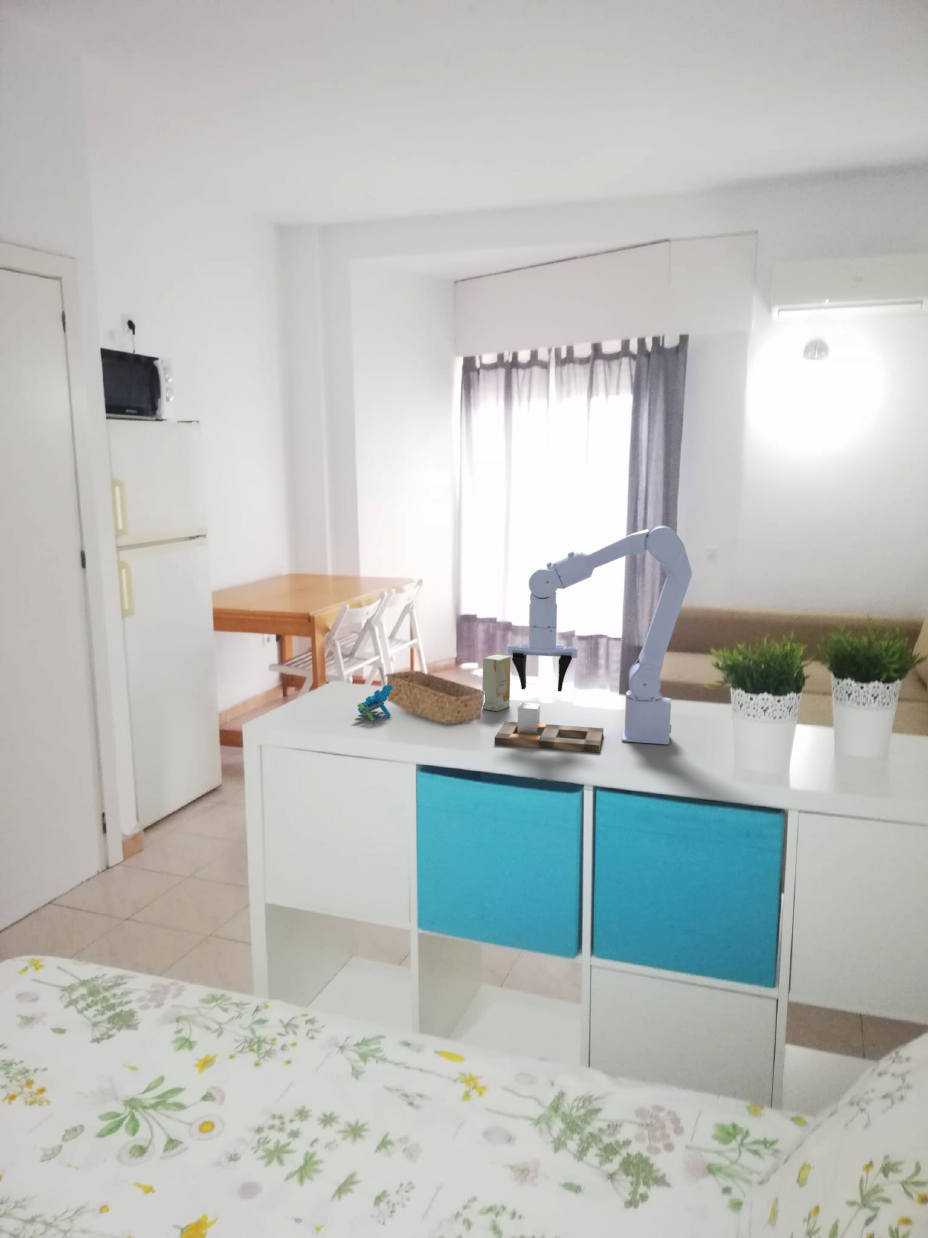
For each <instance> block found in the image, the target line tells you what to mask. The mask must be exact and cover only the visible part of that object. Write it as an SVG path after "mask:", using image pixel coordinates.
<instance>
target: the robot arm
mask: <svg viewBox="0 0 928 1238" xmlns="http://www.w3.org/2000/svg"><path fill="white" fill-rule="evenodd" d="M646 551H648V553H649V554H650V556H652V558H653V559H655V560H656V561H657V562H659V564H660V566H661V568H662V570H663V571H664V573H665V575H666V578H665V580H664V583H663V586H662V588H661V589H662V590H661V592H660V595H659V598H658V601H657V604H656V607H655V610H654V613H653V616H652V619H651V621H650V622H651V623H650V626H649V629H648V631H647V634H646V637H645V639H644V644H643V646H642V648H641V650H640V652H639V655H638V657H637V660H636V661H635V662H634V663H633V664H632V665H631V666H630V668H629V670H628V688H629V689H628V690H627V691H626V692H625V706H624V707H625V710H624V711H625V714H624V716H625V717H624V728H623V729H622V734H621V735H622V736H621V741H622V742H630V743H641V744H642V743H643V744H644V743H645V744H655V745H657V744H658V745H669V744H670V734H672V724H671V709H672V708H671V706H672V698H670V697H663V696H662V692H660V690H661V686H662V683H661V672H662V669H663V665H664V659H665V655H666V653H667V650H668V647H669V644H670V640H671V638H672V635H673V632H674V628H675V625H676V622H677V620H678V617H679V614H680V611H681V609H682V605H683V602H684V599H685V597H686V593H687V591H688V587H689V584H690V582H691V578H692V576H693V575H692V574H693V572H692V568H691V564H690V561H689V558H688V555H687V551H686V547H685V544H684V542H683V541H682V539H681V538H680V536H679V535H678V534H677V532H676V531H674V530H673V528H672V527H670V526H667V525H663V524H659V525H654V526H653V527H651V528H650V529H648V528H647V529H642V530H640V531H637V532H636V531H635V532H634V533H630V534H628V535H626V536H624V537H621V538H620V539H618V540H616V541H613V542H612V543H609V544H608V545H607V544H606V545H605V546H603V547H601V548H599V549H597V550H595V551H593V552H591V553H589V554H587V553H584V552H581V551H578V552H575V551H573V550H572V551H571V552H569V553H567V556H566V557H563V558H562V559H559V560H558V561H556V562H553V563H552V561H550V562H548V563H546V567H540V568H539V569H536V570H535V571H534V572H533V573H531V576H530V578H529V580H528V587H529V590H530V595H529V600H530V603H529V609H528V610H529V618H528V620H529V621H528V624H529V625H528V644H527V643H526V644H523V643H522V644H519V643H517V644H511V643H510V644H508V645H507V656H512V658H511V660H512V663H513V665H514V667H515V669H516V673H517V674H518V678H519V681H520V688H521V690H526V688H527V674H526V673H527V672H526V671H527V669H526V668H527V656H536V657H537V656H539V657H544V656H545V657H558V681H557V682H558V683H557V692H562V690H563V684H564V679H565V676H566V675H567V674H566V673H567V670H568V669H569V666H570V664H571V662H572V660H573V659H577V658H578V647H577V646H566V645H558V644H557V631H558V629H557V627H558V625H557V624H558V623H557V622H558V621H557V620H558V618H557V617H558V605H557V592H556V591H557V589H560V590H565V589H567V588H569V587H571V586H574V585H575V584H578V583H580V582H583V581H586V580H587V579H590V578H591V577H592V575H593V573H594V570H595V569H596V568H598V567H601V566H603V565H607V564H608V563H611V562H613V561H616V560H619V559H621V558H623V557H626V556H629V555H636V556H637V555H639V556H646Z"/></svg>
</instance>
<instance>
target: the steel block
mask: <svg viewBox="0 0 928 1238" xmlns="http://www.w3.org/2000/svg"><path fill="white" fill-rule="evenodd" d="M540 706H541V703H532V702H531V703H528V702H520V703H519V704H518V707H517V722H518V733H517V734H522V735H536V736H540V735H539V723H540V719H541V717H540V715H541V713H540V712H541V711H540V709H541V708H540Z"/></svg>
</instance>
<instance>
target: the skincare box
mask: <svg viewBox="0 0 928 1238" xmlns="http://www.w3.org/2000/svg"><path fill="white" fill-rule="evenodd" d="M511 656H512V655H503V654H493V655H488V656H487V657H483V658H482V686H481V687H482V688H481V689H482V690H483V691H485V703H484V705H483V709H482V710H488V711H495V712H499V711H501V710H503V709H507V708H508V707H510V703H511V701H510V700H509V699H511V696H510V695H511V694H510V693H511V692H510V691H511V660H512V658H511Z"/></svg>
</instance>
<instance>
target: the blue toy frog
mask: <svg viewBox="0 0 928 1238" xmlns="http://www.w3.org/2000/svg"><path fill="white" fill-rule="evenodd" d="M390 690H392V685H390V684H388V685H384V686H382V688H381V691H380V689H377V690H375V691H374V692H373V695H369V696H367V697H366V698H365V701H364V702H360V703H358V704H357V705H356V706H357V711H358V712H359V713H360V715H367V716H368V718H369V719H370V721H371V722H374V721H375V718H374V717H373V715H372V714H371V713H370V712H372V711H375V710H377V709H379V708H380V709H381V711H382V712H383V714H385V716H386V717H387V718H390V717H391V716H392V713H390V711H389V710H388V708H387V707H386V705H385V702H386V701H387V700H388V699H389V698H388V697H390V696H389V694H390ZM389 716H390V717H389ZM373 720H374V721H373Z"/></svg>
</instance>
